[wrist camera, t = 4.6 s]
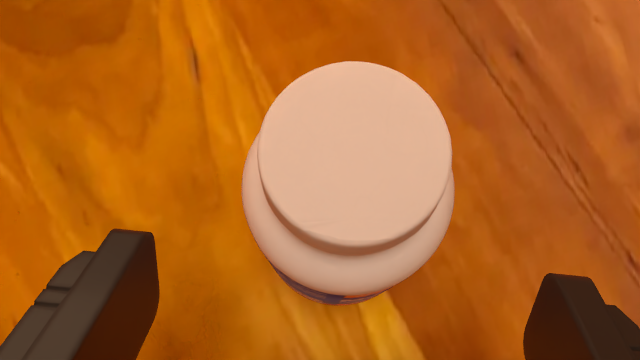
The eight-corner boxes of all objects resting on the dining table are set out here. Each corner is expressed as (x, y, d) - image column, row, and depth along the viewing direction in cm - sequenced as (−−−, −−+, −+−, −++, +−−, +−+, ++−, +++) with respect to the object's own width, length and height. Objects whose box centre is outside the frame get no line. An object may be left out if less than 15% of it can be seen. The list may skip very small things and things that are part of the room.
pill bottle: (350, 337, 19) (382, 352, 10) (235, 242, 20) (163, 172, 11) (439, 220, 20) (544, 132, 11) (327, 135, 21) (334, -15, 12)
